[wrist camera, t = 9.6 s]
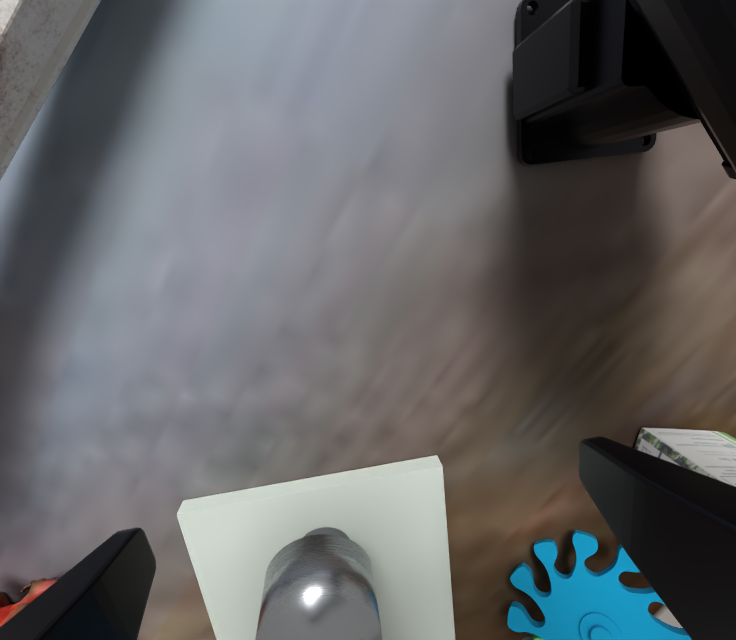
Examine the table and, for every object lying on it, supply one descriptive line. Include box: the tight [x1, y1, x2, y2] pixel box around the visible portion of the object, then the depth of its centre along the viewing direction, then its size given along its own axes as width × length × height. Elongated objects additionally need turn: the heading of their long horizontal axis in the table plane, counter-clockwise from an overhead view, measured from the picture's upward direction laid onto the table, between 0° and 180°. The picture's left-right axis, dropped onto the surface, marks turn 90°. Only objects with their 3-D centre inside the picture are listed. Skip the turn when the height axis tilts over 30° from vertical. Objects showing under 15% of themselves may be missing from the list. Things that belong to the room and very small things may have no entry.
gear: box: [508, 530, 692, 640], centre depth 23 cm, size 11×6×10 cm
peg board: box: [177, 455, 455, 640], centre depth 21 cm, size 14×18×4 cm
